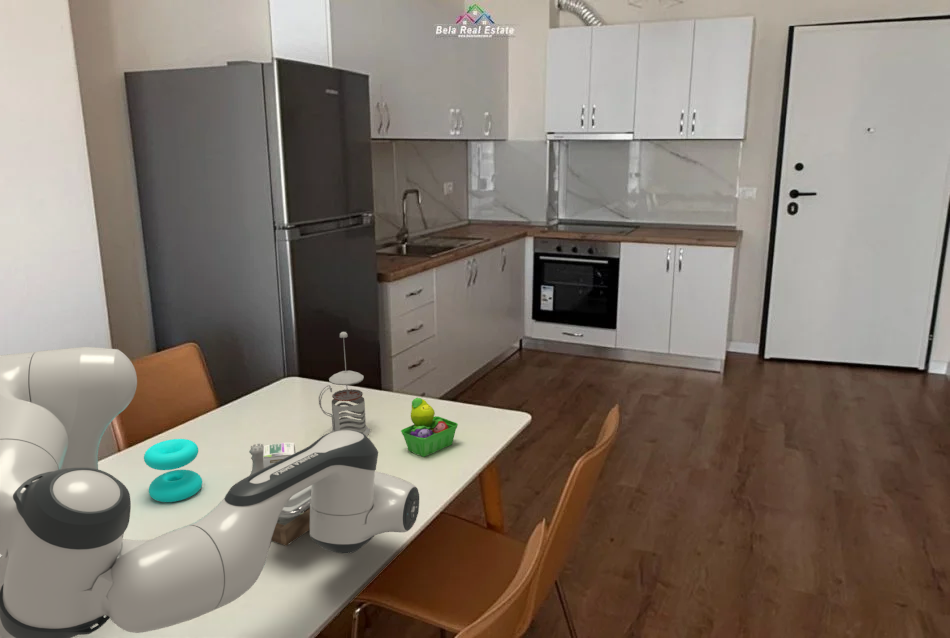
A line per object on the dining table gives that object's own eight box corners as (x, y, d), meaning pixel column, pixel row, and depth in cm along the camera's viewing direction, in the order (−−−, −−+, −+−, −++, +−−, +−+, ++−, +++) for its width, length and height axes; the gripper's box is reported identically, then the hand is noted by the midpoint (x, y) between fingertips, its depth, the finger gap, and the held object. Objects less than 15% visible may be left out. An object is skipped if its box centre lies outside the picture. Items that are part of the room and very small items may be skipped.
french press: (375, 436, 170) (369, 334, 163) (325, 445, 165) (317, 340, 159) (365, 421, 178) (359, 324, 172) (318, 429, 174) (310, 330, 168)
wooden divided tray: (286, 545, 125) (285, 530, 124) (239, 530, 130) (237, 515, 129) (362, 492, 143) (361, 478, 142) (317, 480, 148) (316, 467, 147)
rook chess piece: (265, 488, 146) (261, 451, 144) (245, 486, 147) (241, 450, 145) (275, 477, 150) (272, 442, 148) (256, 476, 151) (252, 441, 149)
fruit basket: (423, 461, 156) (421, 412, 154) (396, 449, 162) (394, 402, 160) (460, 444, 164) (458, 398, 162) (433, 434, 170) (432, 389, 168)
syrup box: (268, 516, 134) (261, 444, 130) (300, 511, 136) (294, 440, 132) (268, 532, 129) (261, 457, 125) (302, 527, 130) (296, 453, 127)
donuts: (139, 460, 136) (146, 440, 145) (146, 508, 138) (152, 485, 148) (196, 453, 139) (198, 433, 148) (201, 500, 141) (204, 478, 151)
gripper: (296, 533, 116) (234, 514, 122) (372, 480, 133) (315, 466, 139) (293, 498, 114) (230, 480, 121) (370, 449, 131) (312, 435, 138)
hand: (276, 472), depth 130 cm, fingers open, 8 cm apart
